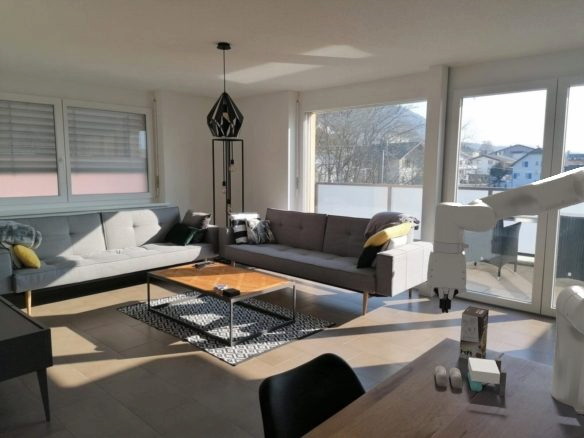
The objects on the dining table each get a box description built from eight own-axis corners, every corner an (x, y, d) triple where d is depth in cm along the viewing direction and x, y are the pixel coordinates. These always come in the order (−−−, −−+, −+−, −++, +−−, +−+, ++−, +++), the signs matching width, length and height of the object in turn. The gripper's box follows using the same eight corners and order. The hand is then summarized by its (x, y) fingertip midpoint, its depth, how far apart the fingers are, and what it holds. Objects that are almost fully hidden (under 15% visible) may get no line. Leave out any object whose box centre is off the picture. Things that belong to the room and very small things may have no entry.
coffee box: (479, 366, 135) (482, 317, 133) (458, 360, 139) (461, 312, 136) (486, 355, 142) (489, 309, 140) (466, 350, 146) (469, 304, 144)
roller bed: (498, 384, 124) (500, 358, 123) (504, 401, 116) (506, 373, 115) (432, 375, 129) (434, 350, 128) (434, 391, 120) (435, 364, 119)
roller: (480, 375, 124) (472, 381, 125) (473, 367, 125) (465, 373, 125) (484, 387, 118) (476, 394, 118) (476, 379, 118) (468, 386, 119)
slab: (494, 370, 124) (494, 360, 123) (499, 384, 116) (500, 373, 116) (467, 367, 125) (468, 357, 125) (471, 380, 118) (472, 370, 117)
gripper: (475, 246, 120) (471, 309, 123) (419, 243, 124) (417, 304, 127) (479, 251, 113) (475, 318, 116) (420, 248, 117) (417, 313, 119)
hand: (444, 311), depth 121 cm, fingers closed
